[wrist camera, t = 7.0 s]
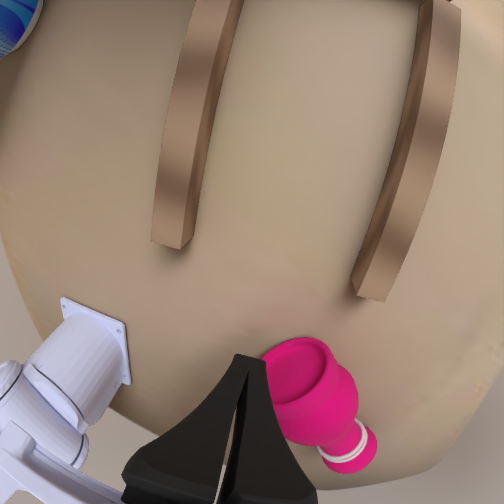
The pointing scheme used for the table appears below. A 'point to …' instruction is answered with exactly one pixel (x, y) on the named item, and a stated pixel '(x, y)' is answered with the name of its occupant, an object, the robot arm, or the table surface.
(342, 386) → the pepper mill
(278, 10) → the table surface
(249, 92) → the table surface
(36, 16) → the beer can
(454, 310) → the table surface
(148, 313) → the table surface
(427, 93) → the u rest
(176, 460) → the robot arm
